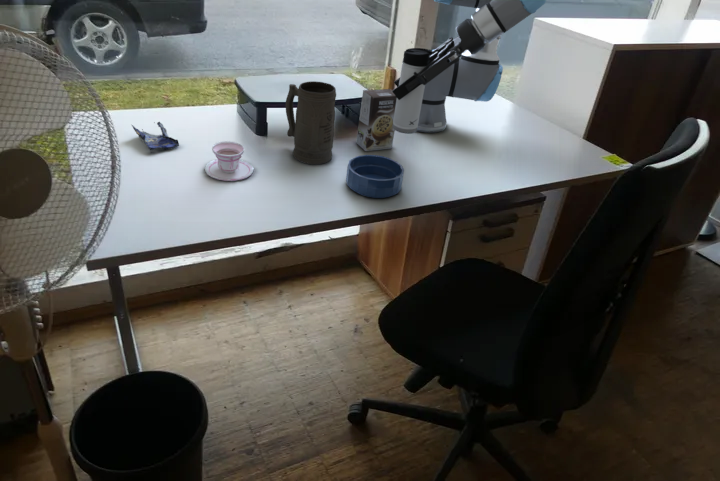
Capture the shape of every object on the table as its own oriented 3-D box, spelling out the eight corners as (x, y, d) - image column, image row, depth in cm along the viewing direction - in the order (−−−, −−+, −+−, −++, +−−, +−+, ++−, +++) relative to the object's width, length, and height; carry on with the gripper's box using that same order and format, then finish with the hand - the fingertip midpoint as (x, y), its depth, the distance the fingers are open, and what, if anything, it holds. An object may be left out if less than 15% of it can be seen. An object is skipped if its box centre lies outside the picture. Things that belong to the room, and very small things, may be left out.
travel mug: (416, 135, 140) (431, 54, 129) (390, 131, 140) (403, 49, 129) (419, 127, 145) (433, 47, 134) (394, 122, 145) (406, 43, 134)
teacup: (201, 161, 145) (200, 139, 142) (247, 158, 150) (247, 137, 146) (209, 183, 136) (208, 160, 133) (258, 179, 141) (258, 157, 137)
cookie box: (365, 151, 162) (372, 97, 153) (355, 142, 167) (361, 89, 158) (392, 148, 166) (401, 95, 157) (382, 139, 171) (389, 87, 162)
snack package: (177, 134, 157) (132, 134, 153) (176, 114, 153) (130, 113, 149) (180, 160, 149) (132, 160, 145) (179, 139, 145) (130, 139, 141)
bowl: (334, 182, 144) (336, 163, 141) (371, 168, 153) (374, 150, 150) (375, 205, 137) (378, 186, 134) (411, 189, 146) (415, 170, 143)
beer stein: (341, 155, 158) (343, 84, 148) (323, 169, 150) (324, 94, 139) (293, 144, 163) (292, 74, 153) (273, 156, 155) (271, 84, 144)
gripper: (490, 55, 121) (403, 116, 131) (483, 35, 137) (406, 90, 147) (471, 26, 119) (384, 91, 128) (467, 9, 135) (389, 67, 144)
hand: (396, 90), depth 137 cm, fingers closed on travel mug, 6 cm apart
